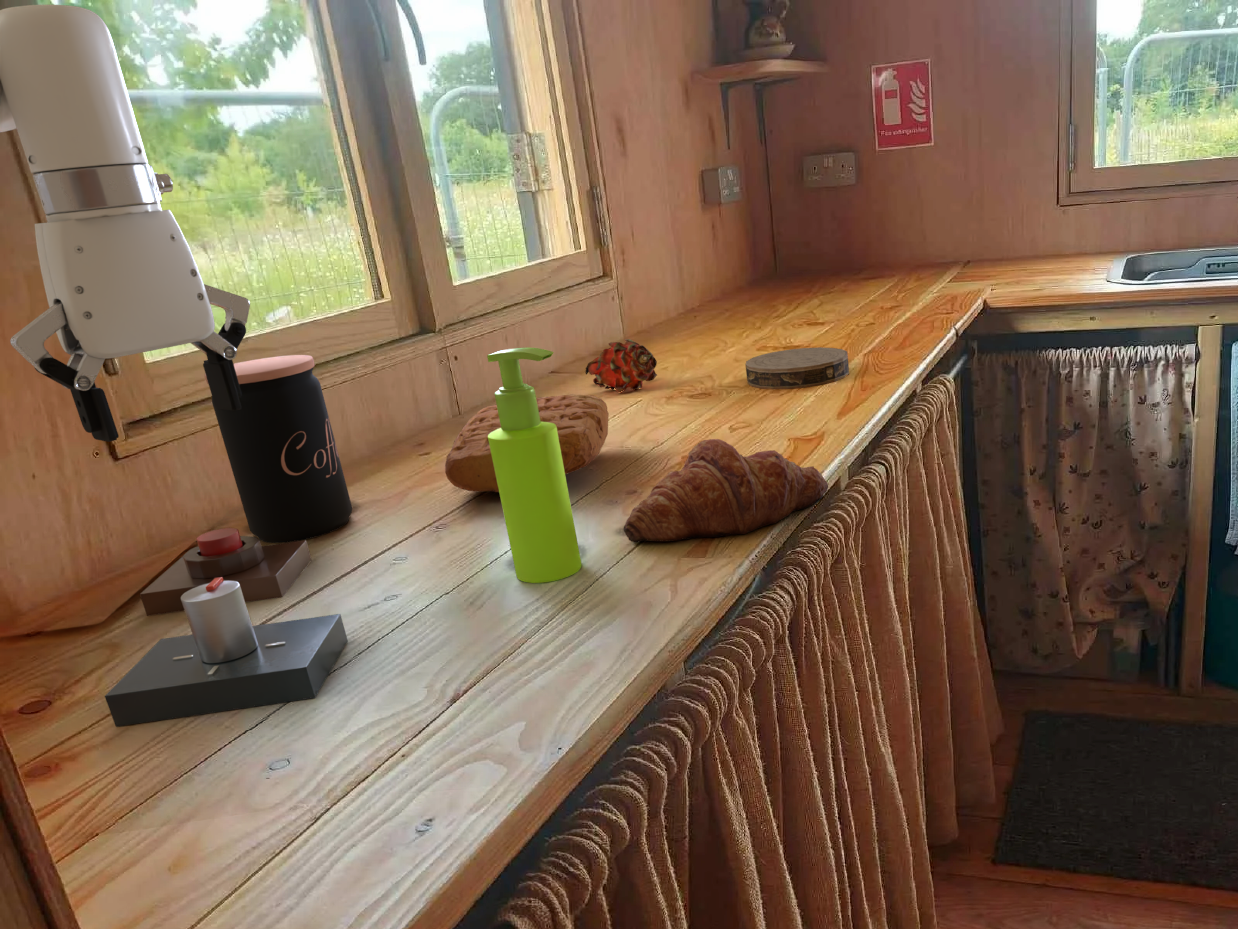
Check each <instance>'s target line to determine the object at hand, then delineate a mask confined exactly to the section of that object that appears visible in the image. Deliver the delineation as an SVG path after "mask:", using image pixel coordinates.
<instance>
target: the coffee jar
mask: <svg viewBox="0 0 1238 929" xmlns="http://www.w3.org/2000/svg"><path fill="white" fill-rule="evenodd" d="M233 364H234V368H235V371H236V375H237V378H238V382H239V385H240V389H241V397H239V400H240V403H241V409H240V410H236V411H231V410H223V409H219V408H216V407H215V405H214V401H213V398H212V397H211V404H212V407H213V410H214V413H215V417H216V421H217V424H218V427H219V430H220V435H221V437H222V441H223V444H224V447H225V451H226V454H227V457H228V462H229V465H230V467H231V471H232V474H233V478H234V481H235V484H236V488H237V491H238V495H239V499H240V501H241V505H242V508H243V512H244V515H245V518H246V521H247V525H248V528H249V531H250V533H251V534H252V535H254V537H256V538H257V539H259V540H260V542H261V541H262V542H263V543H269V544H281V543H289V542H296V541H303V540H309V539H313V538H318V537H321V536H324V535H327V534H329V533H332V532H334V531H336V530H339V529H342V527H344V526H346V525H347V524H348V522H349V521H350V517H351V515H352V513H353V505H352V501H351V496H350V494H349V489H348V485H347V482H346V479H345V478H346V477H345V474H344V471H343V467H342V463H341V459H340V454H339V451H338V448H337V447H338V446H337V444H336V439H335V436H334V432H333V427H332V425H331V421H330V416H329V411H328V408H327V404H326V400H325V398H324V393H323V388H322V384H321V383H320V381H319V378H317V377H316V376H315V375H314V374H313V370H314V367H315V366H316V364H315V360H314V357H313V356H312V355H307V354H291V355H290V354H289V355H278V356H271V357H263V358H256V359H252V360H251V359H250V360H245V361H241V362H235V363H233ZM204 379H205V381H206V384H207V385H209V384H208V381H207V377H206V374H205V373H204Z"/></svg>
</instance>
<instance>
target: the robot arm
mask: <svg viewBox="0 0 1238 929" xmlns="http://www.w3.org/2000/svg"><path fill="white" fill-rule="evenodd" d="M131 102H132V101H131V99H130V96H129V92H128V88H127V86H126V82H125V79H124V75H123V72H122V68H121V64H120V62H119V58H118V55H117V51H116V48H115V45H114V41H113V38H112V35H111V33H110V29H109V28H108V26H107V24H106V23H105V21H104V20H103V18H101V16H99V15H98V13H96V12H94V11H92V10H91V9H88V8H85V7H81V6H77V5H65V4H30V5H29V4H28V5H27V4H26V5H20V6H12V7H11V6H10V7H6V8H2V9H0V133H4V132H9V131H13V130H16V132H17V134H18V138H19V141H20V144H21V146H22V149H23V153H24V155H25V158H26V161H27V165H28V168H29V171H30V174H31V175H32V179H33V182H34V185H35V189H36V191H37V195H38V198H39V200H40V204H41V206H42V209H43V212H44V215H45V219H46V222H39V223H34V233H35V243H36V251H37V257H38V261H39V267H40V273H41V278H42V282H43V287H44V292H45V295H46V299H47V305H48V307H49V308H47V309H46V310H44V311H43V312H42V313H41V314H40V315H38V316H37V317H36V318H34V319H33V320H32V321H30V322H29V323H28V324H27V325H25V326H24V327H23V328H21V329H20V330H19V331H17V332H16V333H15V334H14V335H12V336H11V338H10V340H9V342H10V346H12V348H13V349H15V351H16V352H18V353H19V354H20V356H22V357H23V358H24V360H26V362H28V363H29V364H31V366H33V368H34V370H35V371H36V372H37V373H39V374H41V375H43V376H44V377H46V378H48V379H49V380H52V381H54V382H56V383H58V384H59V385H60V386H62V387H63V388H65V389H67V390H70V393H71V396H72V399H73V402H74V405H75V408H76V411H77V414H78V417H79V419H80V423H81V425H82V428H83V429H84V431H85V432H86V433H89V434H91V436H92V437H93V439H94V440H97V441H102V442H107V443H109V442H115V441H117V440H118V439H119V437H120V436H119V432H118V429H117V426H116V423H115V420H114V417H113V414H112V411H111V408H110V405H109V402H108V399H107V396H106V393H105V390H104V389H103V388H101V387H97V386H96V383H95V381H96V379H97V377H98V375H99V373H100V371H101V368H102V367H103V364H104V362H105V360H106V359H114V358H121V357H125V356H131V355H136V354H141V353H142V354H143V353H148V352H151V351H157V350H163V349H167V348H172V347H177V346H183V345H186V344H187V345H188V344H191V345H192V346H194V347H195V348H196V349H197V350H199V351H200V352H202V353H203V354H205V355H206V359H205V360H203V363H202V366H203V370H204V375H205V374H206V377H207V381H208V384H207V385H208V388H209V391H210V395H211V399H212V398H213V401H214V405H215V407H216V408H219V409H223V410H231V411H236V410H240V409H241V403H240V400H239V397H241V389H240V385H239V382H238V378H237V375H236V371H235V368H234V364H235V363H234V360H235V359H236V358H237V355H238V348H239V347H240V344H241V343H242V342H243V340H244V338H245V336H246V334H247V328H246V324H247V323H248V319H249V313H250V309H251V302H250V300H249V299H248V298H247V297H244V296H241V295H238V294H236V293H232V292H230V291H226V290H223V289H220V288H217V287H214V286H211V285H208V284H205V283H204V281H203V278H202V276H201V273H200V271H199V267H198V265H197V263H196V261H195V258H194V256H193V253H192V250H191V248H190V246H189V243H188V241H187V240H186V238H185V235H184V233H183V231H182V230H181V227H180V225H179V224H178V221H177V220H176V218H175V216H174V214H173V213H172V211H171V209H162V207H161V202H163V199H162V195H164V194H165V193H172V192H173V190H174V185H173V184H174V183H173V180H172V178H171V176H170V175H169V174H168V173H158V172H154V169H153V165H149V161H148V158H147V154H146V150H145V147H144V143H143V141H142V136H141V133H140V131H139V127H138V123H137V120H136V117H135V113H134V110H133V106H132V103H131ZM212 306H215V307H218V308H220V309H223V311H224V312H225V317H224V319H225V321H224V323H223V325H222V326H221V328H220V330H219V331H218V333H217V332H216V331H215V329H216V324H215V317H214V313H213V310H212ZM54 334H56V336H57V339H58V341H59V344H60V346H61V348H62V350H63V351H64V352H65V353H66V354H68V355H70V356H69V358H68V361H67V363H64V362H62V361H61V360H58V359H57V358H55V357H53V355H51V353H50V352H49V351H48V350H47V349H46V347H45V342H46V341H47V340H48V339H49V338H50V337H52V336H53V335H54Z"/></svg>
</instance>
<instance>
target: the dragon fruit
mask: <svg viewBox="0 0 1238 929" xmlns="http://www.w3.org/2000/svg"><path fill="white" fill-rule="evenodd" d="M624 341H625V343H622V342H621V341H615V342H614V341H613V342H612V341H611V342H608V346H610V347H608V348H604V349H603V350H602V352H601V353H600V354H599V356H597V357H595V358H594V359H592V360H591V361H589V362H588V363H587V365H586V367H585V370H584V371H583V373H585V375H588V374H589V375H591V376H593V375H594V376H595V377H594V378H593V379H592V382H593V384H594V385H595V386H598V387H599V388H604V389H605V390H613V389H614V388H615V389H616V391H615V392H616V393H618V392H621V391H623V390H624V391H625V390H626V389H627V388H630V389H631V390H632V391H636V390H635V389H639V388H642V389H643V382H651V381H653V380H655V379H656V377H657V376H658V374H657V372H656V371H655V368H656V367H657V363H658V361H657V359H656V358H655V357H654V354H653V353H652V352H651V351H650V350H649V349H648V348H646V346H644V345H641V344H639V343H638V342H636V341H634V340H632V339H629V338H627V339H625V338H624ZM609 388H611V389H609ZM624 391H623V392H624ZM621 393H622V392H621Z"/></svg>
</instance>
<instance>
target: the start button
mask: <svg viewBox="0 0 1238 929" xmlns="http://www.w3.org/2000/svg"><path fill="white" fill-rule="evenodd" d="M240 536H241V535H240V530H239V529H238V528H235V527H224V528H218V529H213V530H210V531H208V532H204V533H202V534H200V535H199V536H197V537H196V542H197V546H199V549H200V552H201V555H202V556H214V555H221V554H224V553H228V552H232V551H234V550H237V549H239V548H241V547H243V544H242V541H241V538H240Z"/></svg>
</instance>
